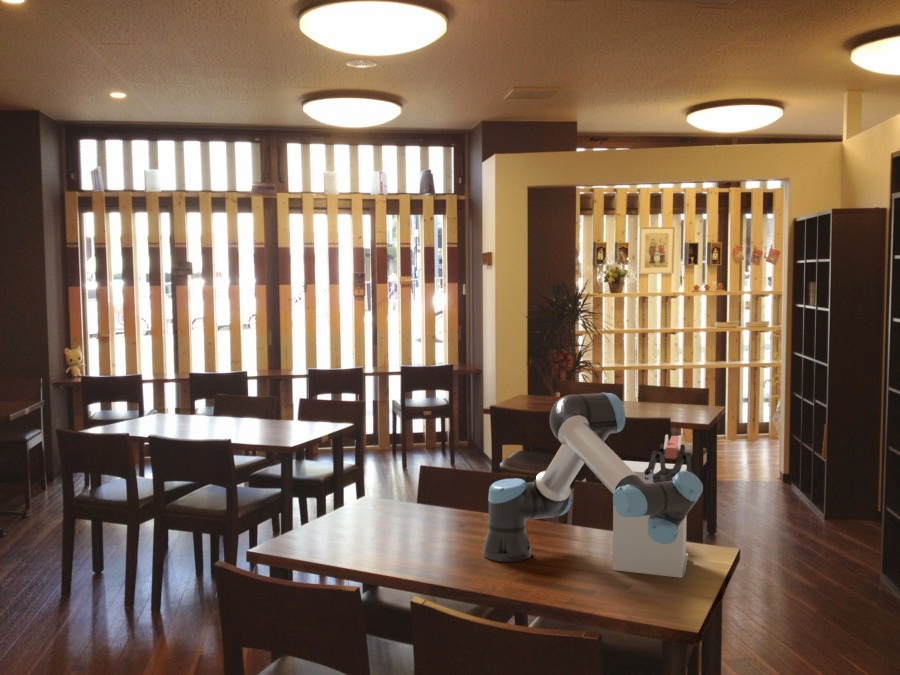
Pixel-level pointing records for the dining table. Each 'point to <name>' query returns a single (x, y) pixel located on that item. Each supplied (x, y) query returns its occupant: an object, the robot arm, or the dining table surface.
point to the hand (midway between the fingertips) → (673, 438)
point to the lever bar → (672, 448)
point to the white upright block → (646, 539)
